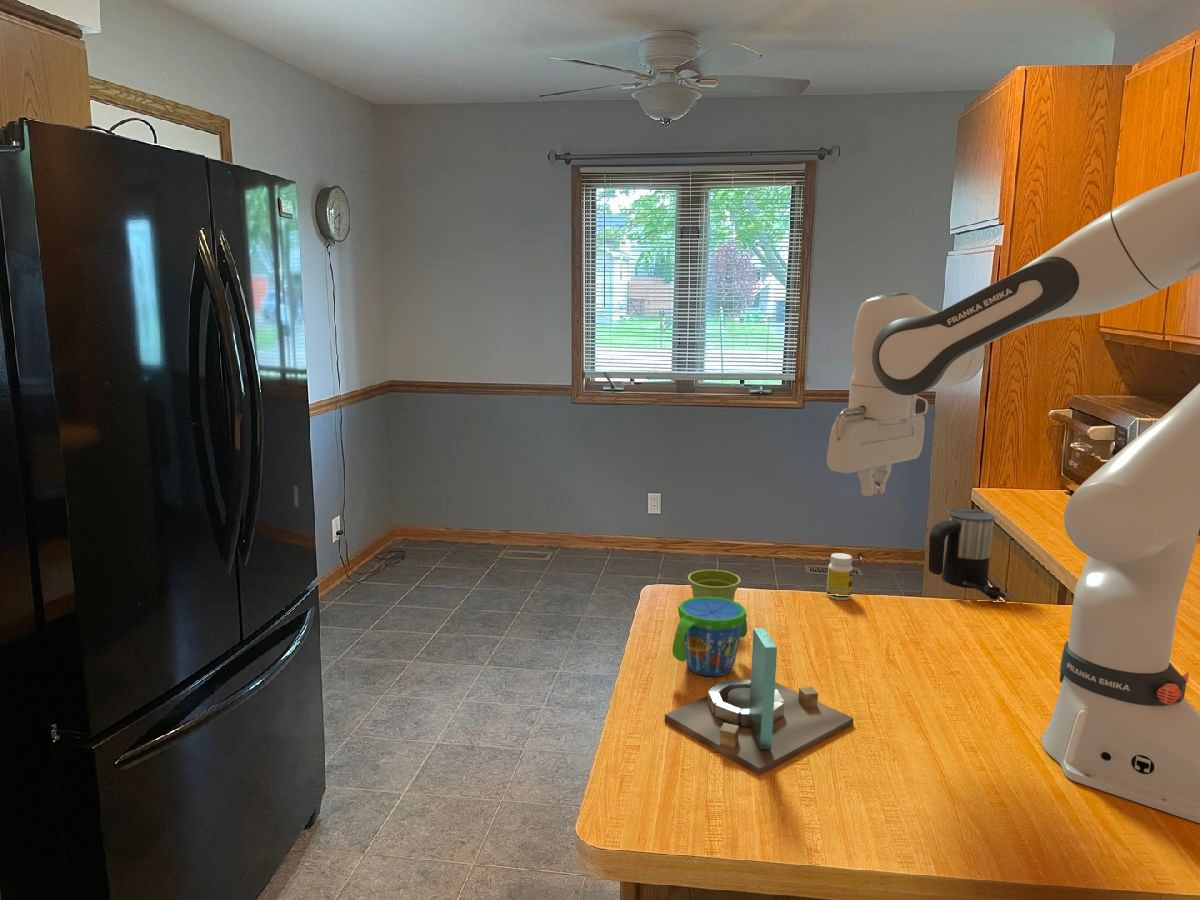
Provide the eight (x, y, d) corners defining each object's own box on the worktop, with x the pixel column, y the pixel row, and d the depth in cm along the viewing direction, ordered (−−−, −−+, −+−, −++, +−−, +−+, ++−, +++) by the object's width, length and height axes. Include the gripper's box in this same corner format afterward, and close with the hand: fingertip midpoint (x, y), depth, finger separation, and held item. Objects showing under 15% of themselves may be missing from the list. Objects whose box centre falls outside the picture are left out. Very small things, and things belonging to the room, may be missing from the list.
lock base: (853, 724, 115) (854, 704, 115) (759, 775, 103) (760, 753, 102) (758, 680, 128) (759, 662, 128) (664, 720, 116) (665, 700, 115)
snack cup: (722, 644, 141) (724, 588, 139) (768, 667, 133) (771, 607, 131) (651, 667, 132) (652, 607, 130) (695, 693, 124) (697, 629, 122)
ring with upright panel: (767, 752, 106) (772, 649, 103) (682, 716, 114) (685, 621, 112) (815, 713, 116) (821, 619, 113) (734, 683, 124) (738, 595, 122)
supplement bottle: (852, 601, 162) (855, 560, 160) (827, 599, 163) (829, 558, 161) (849, 593, 166) (852, 553, 165) (825, 591, 167) (828, 551, 166)
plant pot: (680, 628, 148) (681, 582, 146) (694, 610, 156) (696, 566, 155) (731, 637, 144) (733, 589, 143) (743, 618, 153) (745, 573, 151)
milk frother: (957, 571, 180) (963, 505, 177) (1029, 593, 168) (1037, 522, 165) (918, 584, 172) (924, 515, 169) (991, 608, 159) (999, 533, 157)
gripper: (857, 412, 115) (850, 508, 117) (934, 401, 127) (927, 488, 130) (819, 406, 119) (813, 499, 122) (897, 397, 132) (890, 481, 135)
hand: (872, 494), depth 126 cm, fingers closed
